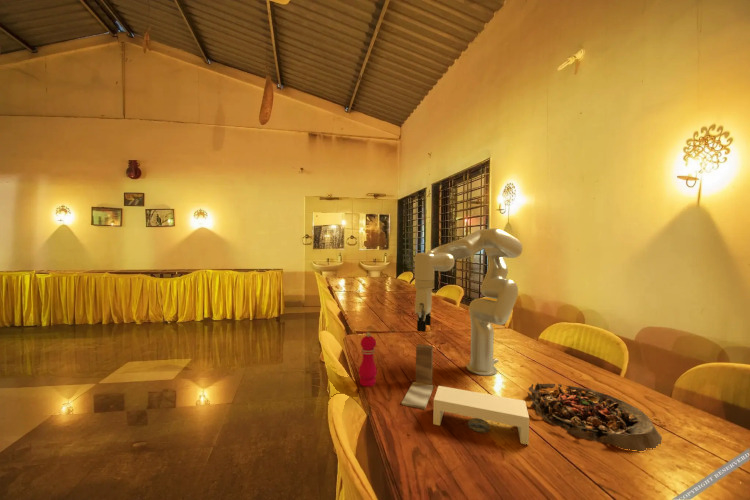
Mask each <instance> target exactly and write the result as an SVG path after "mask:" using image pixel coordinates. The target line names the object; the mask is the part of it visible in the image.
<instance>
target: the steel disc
mask: <svg viewBox="0 0 750 500" xmlns="http://www.w3.org/2000/svg"><path fill="white" fill-rule="evenodd" d="M467 425H468V427H469V429H470V430H471V431H473V432H476V433H478V434H479V433H481V434H485V433H488V432H489V431H490V424H489V423H488V422H487V420H483V419H478V418H474V417H471V418H470V419H469V420H468V423H467Z"/></svg>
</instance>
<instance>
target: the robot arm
mask: <svg viewBox="0 0 750 500" xmlns="http://www.w3.org/2000/svg"><path fill="white" fill-rule="evenodd" d="M483 250H484V251H485V254H486V257H487V260H488V269H487V271H486V274H485V276H484V278H483V281H482V284H481V287H480V293H481V295H482V296H484V297H485V298H480V297H479V298H475V299H473V300H472V301H470V303H469V306H468V312H469V318H470V362H469V363H467V364H466V369H467V370H468V371H469V372H471V373H472V374H476V375H480V376H494V375H496V374H497V373H498V369H497V368H496V367H495V364H496V363H499V359H498V358H497V357H496V358H494V342H495V341H494V340H495V339H494V336H495V331H494V327H493V324H494V325H499V326H502V325H505V324H506V323H507V322H508V320H510V316H511V314H512V312H513V309H514V307H515V303H516V301H517V298H518V294H519V288H518V285H517V282H515V281H514V280H513V279H510V278H509V279H508V278H507V277H508V274H509V266H508V263H506V260H505V259H514V258H515V259H516V258H518V257H520V256H521V254H522V252H523V244H522V242H521V241H520V240H519V239H518V238H517V237H515V236H513V235H512V234H510V233H508V232H506V230H505V231H504V230H502V229H500V228H481V229H478V230H475V231H474V232H471V233H470V234H468V235H465V236H464V237H462V238H460V239H457V240H454V241H452V242H447V243H446V244H442V245H439V246H437V247H433V249H430V250H428V251H427V252H418V253H416V254H415V255H414V256H415V258H414V289H416V290H415V291H416V292H415V301H414V314H415V315H417V321H416V329H417V331H418V332H424V333H425V332H427V331H426V330H427V326H431V323H432V321H431V319H432V317H431V311H432V305H433V304H432V303H433V300H432V299H433V298H432V297H433V295H432V293H433V292H432V290H433V289H435V271H436V272H437V271H438V272H448V271H450V270H451V269H453V268H454V266H455V261H456V260H463V259H464V260H465V259H468V258H470V257H472V256H474V255H475V254H478V253H479V252H481V251H483ZM504 258H505V259H504ZM488 298H489V299H488ZM492 299H494V300H492Z"/></svg>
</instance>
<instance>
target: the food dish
mask: <svg viewBox="0 0 750 500" xmlns="http://www.w3.org/2000/svg"><path fill="white" fill-rule="evenodd" d="M557 385H558V387H557V389H555V390H549V391H548V390H547V389H554V388H555V386H556V383H539V382H538V383H536V384H535V386H534V384H533V383H532V384H531V385H530V386H529V387H528V388H527V389H528V392H527V396H528V397H529V398H530V400H531V402H532V404H530V406H532V407H533V408H534V410H535V412H536V413H537V415H539V416H541V417H542V419H543V420H544V421H545V422H547V423H549V424H550V425H554V426H557V427H561V428H563V429H564V430H565V431H566V432H568V434H571V435H572V436H575V437H577V438H580V439H583V440H589V441H593V442H597V443H602V442H603V444H608V445H611V444H612V445H611V446H613V445H615V446H617V447H620V448H623V449H628V450H629V449H630V450H637V451H644V450H646V448H652V449H651V450H654V449H653V448H656V446H658V447H659V445H658V444H660V445H662V444H661V443H662V441H663V437H662V436H661V434H660V433H659V432H658V430H657V428H656V427H655V425H654V424H653V422H652V420H651V419H650V417H649V416H647V414H646V413H644V411H642V410H641V409H640V408H638V407H636V406H634V405H632V404H629V403H628V402H626V401H624V400H622V399H619V398H617V397H614V396H612V395H609V394H605V393H603V392H600V391H596V390H593V389H589V388H584V387H579V386H571V385H566V389H562V387H563V385H562V384H560V383H558V384H557ZM534 387H535V388H534ZM661 440H662V441H661ZM615 446H614V447H615ZM617 447H616V448H617ZM656 449H657V448H656ZM646 451H647V450H646Z"/></svg>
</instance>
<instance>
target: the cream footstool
mask: <svg viewBox="0 0 750 500" xmlns="http://www.w3.org/2000/svg"><path fill="white" fill-rule="evenodd" d="M528 411H529V410H528V408H527V403H526V400H522V399H517V398H513V397H511V398H510V397H506V396H500V395H495V394H489V393H484V392H478V391H476V392H475V391H473V390H466V389H460V388H453V387H448V386H444V385H443V386H442V385H438V386H437V389H436V393H435V395H434V397H433V417H432V420H433V421H432V422H433V423H432V424H433V425H436V426H441V423H442V419H443V417H444V415H443V414H444V412H445V413H449V414H454V415H460V416H465V417H470V418H478V419H482V420H485V421H489V422H494V423H499V424H505V425H508V426H513V427H514V426H515V427H517V431H518V435H519V441H520V444H523V445H526V444H527V445H526V446H529V443H530V442H529V440H530V416H529V412H528Z"/></svg>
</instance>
